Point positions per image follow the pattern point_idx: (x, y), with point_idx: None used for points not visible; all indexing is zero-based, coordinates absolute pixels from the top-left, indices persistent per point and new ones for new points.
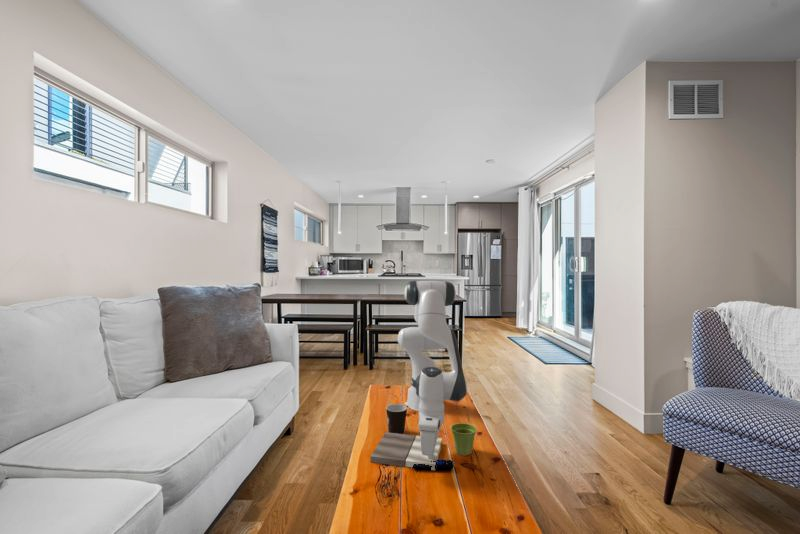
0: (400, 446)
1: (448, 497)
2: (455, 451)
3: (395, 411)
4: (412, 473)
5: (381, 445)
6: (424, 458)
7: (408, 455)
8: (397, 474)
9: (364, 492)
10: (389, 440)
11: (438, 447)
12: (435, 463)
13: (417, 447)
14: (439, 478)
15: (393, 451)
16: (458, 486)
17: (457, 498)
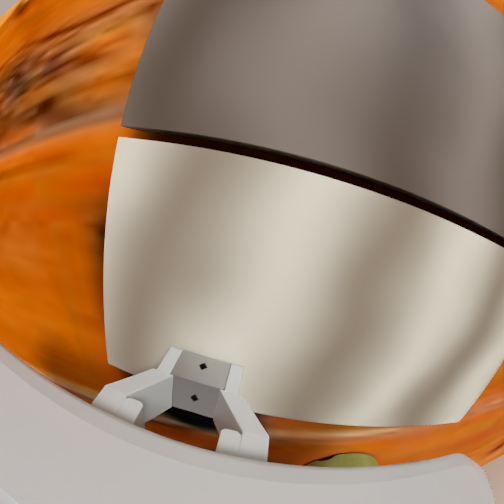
0: (419, 90)
1: (6, 329)
2: (342, 454)
3: None
4: (76, 198)
5: None
6: (169, 313)
7: (217, 157)
8: (68, 106)
9: (8, 36)
10: (490, 39)
11: (358, 420)
12: (122, 368)
13: (396, 270)
14: (71, 340)
15: (305, 14)
16: (57, 383)
17: (13, 352)
